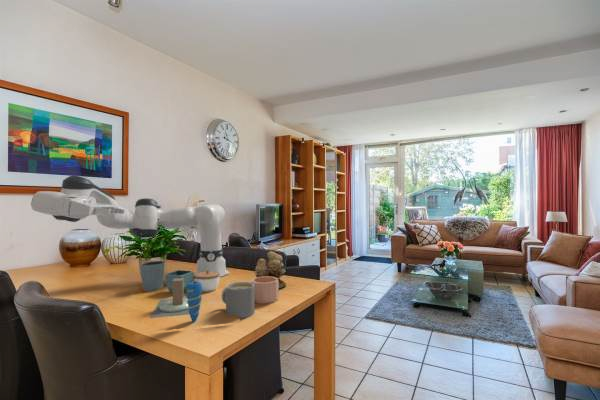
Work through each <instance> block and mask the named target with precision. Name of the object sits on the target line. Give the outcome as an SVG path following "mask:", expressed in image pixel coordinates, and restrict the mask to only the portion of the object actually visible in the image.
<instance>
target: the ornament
mask: <svg viewBox="0 0 600 400" xmlns="http://www.w3.org/2000/svg"><path fill="white" fill-rule="evenodd" d="M186 289H187V291H186V293H185V296H186V298H187V299H188V301H187V303H188V306H189V314H188V315H189V316H190V319H191V320H190V321H192V323H195V322H197V319H198V317H199V315H200V310H199V308H200V309H201V304H200V301H201V302H202V299H201V297H202V293H203V292H202V285H201V283H200V282H196V279H195V278H194V279H193V280H192V282H191V283H188V284H187V285H186ZM202 298H203V297H202Z"/></svg>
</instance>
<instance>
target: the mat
mask: <svg viewBox="0 0 600 400" xmlns="http://www.w3.org/2000/svg"><path fill="white" fill-rule="evenodd" d="M202 298H203V297H201V301H200V305H201V304H202ZM172 299H173V298H167V299H159V301H158V303H157V305H156V306H155V308H154V310H153V311H152V312H151V315H150V316H149V319H155V318H164V317H165V318H166V317H173V316H176V317H177V316H184V315H190V314H189V309H188V310H185V311H180V312H163V311H161V310H160V309H159V305H160V304H161V303H163V302H165V301H168V300H172ZM200 309H201V307H200V308H199V311H200Z"/></svg>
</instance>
